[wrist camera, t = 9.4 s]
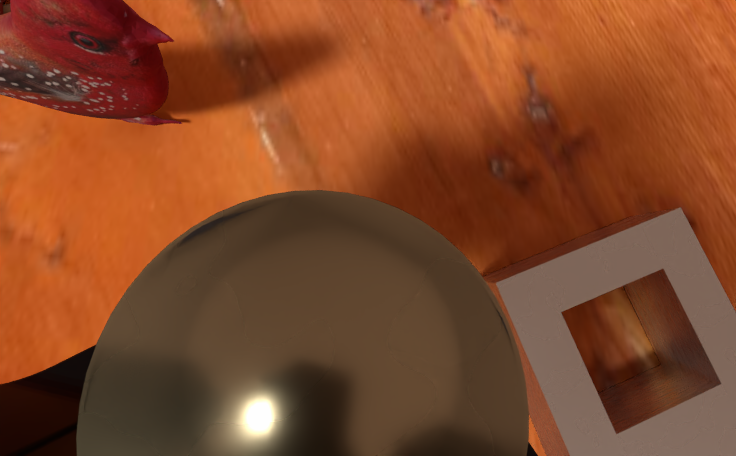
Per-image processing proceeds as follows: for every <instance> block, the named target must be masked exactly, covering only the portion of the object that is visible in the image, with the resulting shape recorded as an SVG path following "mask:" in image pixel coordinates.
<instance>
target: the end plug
mask: <svg viewBox="0 0 736 456" xmlns="http://www.w3.org/2000/svg"><path fill="white" fill-rule="evenodd" d="M528 433H529V407H528V398H527V389H526V380H525V375H524V371H523V366H522V362H521V358H520V354H519V349H518V347H517V344H516V341H515V338H514V336H513V333H512V330H511V327H510V325H509V322H508V320H507V318H506V316H505V314H504V312H503V310H502V308H501V306H500V304H499V302H498V300H497V298H496V296H495V295H494V293H493V292H492V290H491V289H490V288H489V286H488V285H487V283H486V282H485V280H484V279H483V277H482V276H481V274H480V273H479V272H478V271H477V269H476V268H475V267H474V266H473V265H472V264H471V262H470V261H469V260H468V259H467V258H466V257H465V256H464V254H463V253H462V252H461V251H460V250H458V249H457V248H456V247H455V246H454V245H453V244H452V243H451V242H450V241H448V240H447V239H446V238H445V237H444V236H443V235H442V234H440V233H439V232H437V231H436V230H434V229H433V228H431V227H430V226H429V225H427V224H426V223H424V222H423V221H421V220H420V219H418V218H416V217H414V216H412V215H410V214H408V213H406V212H404V211H402V210H401V209H399V208H397V207H394V206H391V205H388V204H386V203H383V202H380V201H378V200H375V199H372V198H367V197H363V196H359V195H354V194H350V193H344V192H334V191H323V190H312V191H291V192H285V193H278V194H272V195H267V196H263V197H259V198H256V199H252V200H249V201H245V202H242V203H240V204H237V205H235V206H232V207H230V208H228V209H225V210H223V211H221V212H218V213H216V214H214V215H212V216H211V217H209V218H207V219H206V220H204V221H202V222H200V223H199V224H197V225H195V226H193V227H192V228H190V229H189V230H188V231H186V232H185V233H184V234H182V235H181V236H180V237H178V238H177V239H176V240H174V241H173V242H172V243H170V244H169V245H168V246H167V247H166V248H165V249H164V250H162V251H161V252H160V253H159V254H158V255H157V256H156V257H155V258H154V259H153V260H152V261H151V262H150V263H149V264H148V265H147V266H146V267H145V268H144V269H143V271H142V272H141V273H140V274H139V275H138V277H137V278H136V279H135V280H134V282H133V283H132V284H131V285H130V286H129V288H128V289H127V290H126V292H125V293H124V295H123V297H122V298H121V300H120V301H119V303H118V304H117V306H116V307H115V309H114V310H113V312H112V314H111V315H110V317H109V319H108V321H107V323H106V325H105V328H104V330H103V332H102V334H101V336H100V338H99V340H98V342H97V344H96V347H95V350H94V353H93V356H92V359H91V361H90V364H89V367H88V370H87V373H86V377H85V382H84V386H83V391H82V395H81V400H80V404H79V415H78V425H77V436H76V442H77V456H526V455H527V447H528Z"/></svg>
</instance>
